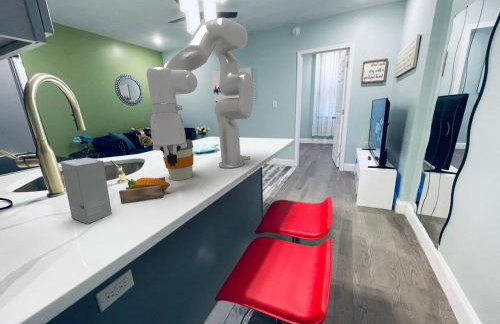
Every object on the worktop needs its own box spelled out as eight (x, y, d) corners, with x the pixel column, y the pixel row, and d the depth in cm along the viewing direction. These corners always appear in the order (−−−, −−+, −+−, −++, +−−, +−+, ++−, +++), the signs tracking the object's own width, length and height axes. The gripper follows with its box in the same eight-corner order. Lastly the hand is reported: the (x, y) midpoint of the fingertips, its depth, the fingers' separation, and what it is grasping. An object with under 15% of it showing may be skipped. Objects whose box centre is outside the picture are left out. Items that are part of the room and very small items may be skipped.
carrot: (173, 177, 72) (132, 178, 73) (167, 176, 67) (123, 177, 68) (173, 192, 72) (131, 192, 73) (166, 192, 67) (121, 192, 68)
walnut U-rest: (166, 187, 76) (164, 177, 75) (162, 197, 67) (160, 186, 66) (130, 192, 73) (128, 181, 72) (121, 203, 64) (118, 191, 63)
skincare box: (71, 218, 56) (54, 162, 52) (99, 207, 62) (87, 156, 58) (87, 225, 52) (71, 165, 48) (116, 212, 58) (103, 158, 54)
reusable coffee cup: (166, 174, 92) (161, 141, 88) (195, 170, 96) (191, 138, 92) (164, 183, 80) (158, 145, 77) (197, 179, 84) (193, 142, 80)
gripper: (189, 109, 71) (195, 160, 76) (142, 111, 67) (151, 165, 72) (189, 108, 64) (195, 165, 69) (136, 111, 60) (147, 171, 65)
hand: (173, 165), depth 70 cm, fingers closed
